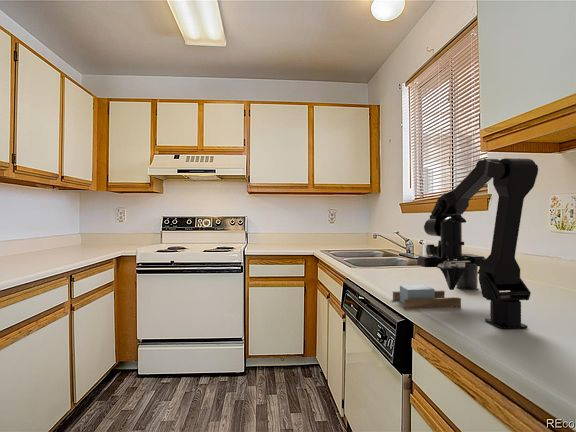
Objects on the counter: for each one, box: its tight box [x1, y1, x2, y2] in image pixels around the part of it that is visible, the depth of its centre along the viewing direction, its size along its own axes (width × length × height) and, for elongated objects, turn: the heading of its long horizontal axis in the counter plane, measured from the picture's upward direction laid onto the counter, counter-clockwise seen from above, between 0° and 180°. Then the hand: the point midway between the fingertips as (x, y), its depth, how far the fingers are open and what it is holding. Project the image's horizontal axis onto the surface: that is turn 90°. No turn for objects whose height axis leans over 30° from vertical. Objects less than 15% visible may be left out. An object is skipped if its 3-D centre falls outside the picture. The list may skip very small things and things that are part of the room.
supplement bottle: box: [455, 253, 479, 291], centre depth 123 cm, size 7×7×12 cm
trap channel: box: [392, 289, 462, 309], centre depth 103 cm, size 10×16×2 cm, turn 93°
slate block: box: [399, 284, 436, 304], centre depth 103 cm, size 6×8×5 cm
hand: (451, 289), depth 104 cm, fingers closed
